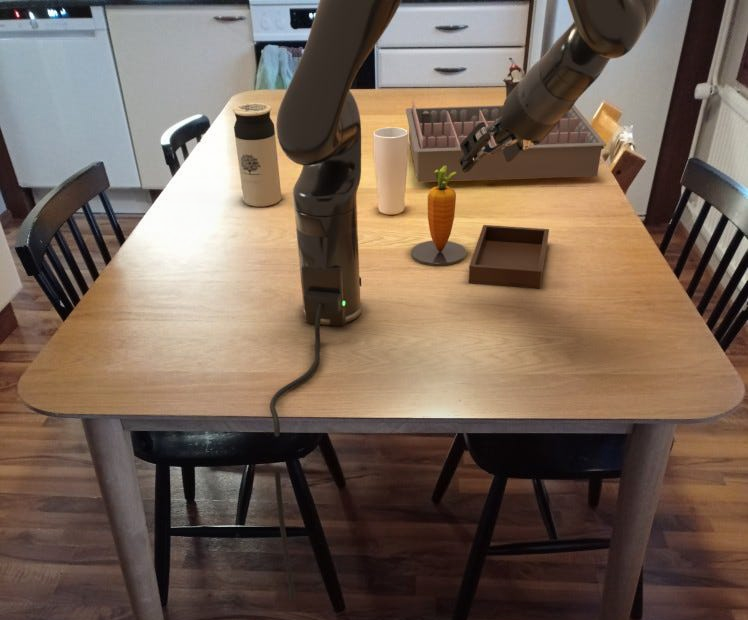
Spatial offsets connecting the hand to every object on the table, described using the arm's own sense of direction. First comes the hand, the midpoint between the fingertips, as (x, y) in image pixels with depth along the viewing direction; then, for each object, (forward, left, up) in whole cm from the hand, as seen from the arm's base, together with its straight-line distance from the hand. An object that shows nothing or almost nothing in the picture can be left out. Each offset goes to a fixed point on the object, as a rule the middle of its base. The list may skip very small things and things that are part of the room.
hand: (484, 161), depth 121 cm
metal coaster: (+8, +8, -19) cm, 22 cm away
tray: (+7, -5, -19) cm, 21 cm away
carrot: (+8, +8, -19) cm, 22 cm away
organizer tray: (+60, +4, -19) cm, 63 cm away
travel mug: (+28, +49, -19) cm, 60 cm away
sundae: (+91, +3, -19) cm, 93 cm away
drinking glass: (+27, +21, -19) cm, 40 cm away
